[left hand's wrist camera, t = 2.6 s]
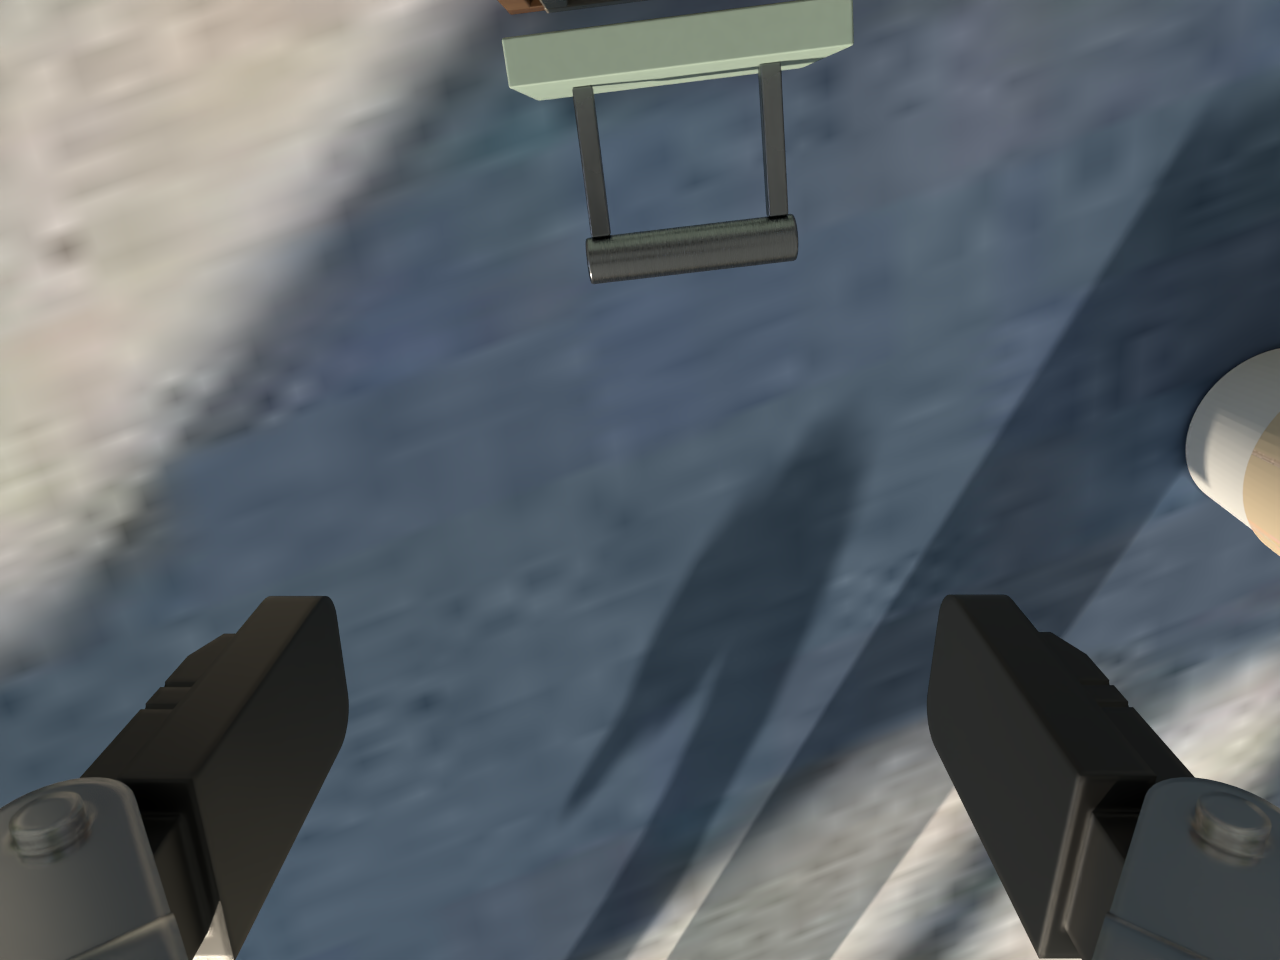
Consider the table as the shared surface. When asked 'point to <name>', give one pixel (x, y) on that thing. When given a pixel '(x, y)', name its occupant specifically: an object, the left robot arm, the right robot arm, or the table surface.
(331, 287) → the table surface
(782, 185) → the drawer
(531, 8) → the cabinet
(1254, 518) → the coffee cup
